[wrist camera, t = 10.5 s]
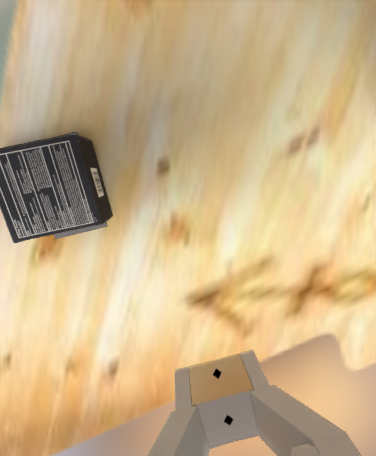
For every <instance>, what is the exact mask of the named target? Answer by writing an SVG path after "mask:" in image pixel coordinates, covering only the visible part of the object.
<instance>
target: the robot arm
mask: <svg viewBox="0 0 376 456" xmlns="http://www.w3.org/2000/svg"><path fill="white" fill-rule="evenodd" d="M175 407H176V411H173V412H171V414H170V415H169V417H168V419H167V421H166V423H165V425H164V426H163V428H162V430H161V432H160V434H159V436H158V437H157V439H156V441H155V443H154V444H153V446H152V448H151V450H150V452H149V454H148V455H147V456H208V455H209V449H211V448H214V447H217V446H221V445H224V444H227V443H231V442H234V441H239V440H243V439H247V438H252V437H256V436H259V437H260V438H261V439H262V440H263V441H264V442H265V443H266V445H267V446H268V447H269V448H270V449H271V450H272V451H273V452H274V453H275V454H276V455H277V456H362V455H361V454H360V452H359V451H358V449H357V448H356V446H355V445H354V443H353V442H352V441H351V439H350V438H349V436H348V435H347V433H346V432H345V431H343V430H342V429H340V428H339V427H337V426H336V425H334V424H333V423H331V422H330V421H328V420H327V419H325V418H324V417H322V416H321V415H319V414H318V413H316V412H315V411H313V410H312V409H310V408H309V407H307V406H305V405H304V404H303V403H301V402H299V401H298V400H296V399H295V398H293V397H292V396H290V395H289V394H287V393H286V392H284V391H283V390H281V389H280V388H278V387H277V386H275V385H272V386H270V385H269V382H268V380H267V378H266V376H265V374H264V372H263V370H262V367H261V365H260V363H259V361H258V359H257V357H256V355H255V353H254V351H253V350H249V351H245V352H242V353H239V354H235V355H231V356H228V357H224V358H220V359H217V360H213V361H209V362H204V363H200V364H196V365H192V366H189V367H184V368H180V369H176V370H175Z"/></svg>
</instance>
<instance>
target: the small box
mask: <svg viewBox="0 0 376 456" xmlns="http://www.w3.org/2000/svg"><path fill="white" fill-rule="evenodd" d="M0 209H1V211H2V214H3V216H4V219H5V221H6V224H7V227H8V229H9V232H10V235H11V237H12V240H13V242H14V243H18V242H22V241H25V240H30V239H34V238H39V237H44V236H49V235H54V234H58V233H63V232H68V231H72V230H77V229H82V228H87V227H91V226H100V225H103V224H104V223H105V222H107V221H108V220H109V219H110V218H111V217H112V216H113V215H112V211H111V208H110V204H109V201H108V197H107V194H106V190H105V187H104V183H103V179H102V176H101V172H100V169H99V165H98V161H97V158H96V154H95V151H94V147H93V143H92V141H91V140H89V139H88V138H85V137H82V136H80V135H78V134H76V133H74V132H72V133H69V134H67V135H64V136H59V137H54V138H49V139H44V140H38V141H33V142H28V143H24V144H19V145H14V146H9V147H4V148H0Z"/></svg>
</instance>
